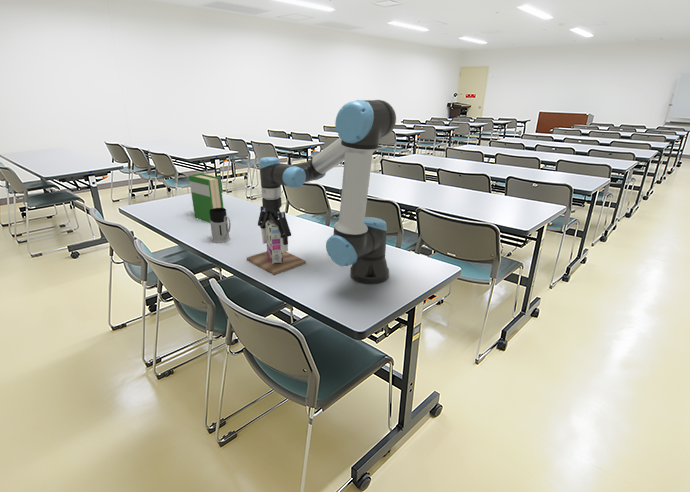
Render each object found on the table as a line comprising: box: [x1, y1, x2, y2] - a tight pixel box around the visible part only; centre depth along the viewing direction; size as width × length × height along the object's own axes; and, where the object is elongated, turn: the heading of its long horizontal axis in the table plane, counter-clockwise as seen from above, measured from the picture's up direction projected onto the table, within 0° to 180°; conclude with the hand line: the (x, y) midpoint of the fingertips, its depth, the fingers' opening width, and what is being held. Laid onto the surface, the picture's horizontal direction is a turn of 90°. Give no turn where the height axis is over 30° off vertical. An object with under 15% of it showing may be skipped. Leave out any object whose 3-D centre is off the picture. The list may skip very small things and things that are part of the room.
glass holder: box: [209, 208, 231, 244], centre depth 183 cm, size 9×14×15 cm, turn 47°
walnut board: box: [246, 250, 307, 276], centre depth 163 cm, size 20×16×1 cm
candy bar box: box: [266, 220, 283, 264], centre depth 160 cm, size 11×5×16 cm, turn 20°
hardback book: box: [188, 173, 225, 224], centre depth 213 cm, size 18×7×24 cm, turn 52°
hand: (275, 247), depth 161 cm, fingers open, 13 cm apart
